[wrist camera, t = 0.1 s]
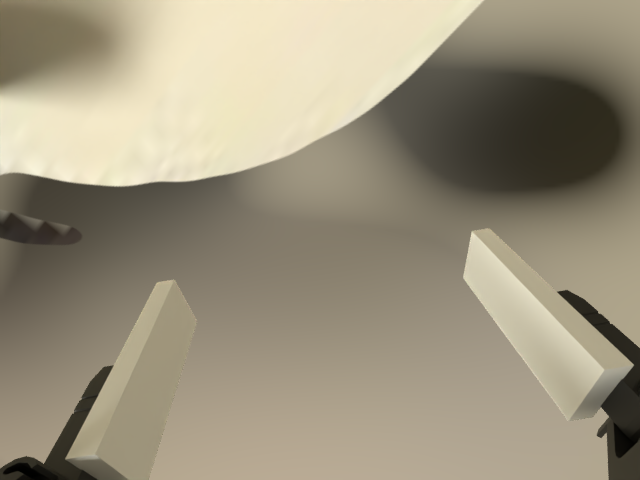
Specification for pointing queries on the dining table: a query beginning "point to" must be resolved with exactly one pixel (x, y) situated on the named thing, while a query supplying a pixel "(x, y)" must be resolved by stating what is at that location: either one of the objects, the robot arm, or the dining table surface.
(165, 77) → the dining table surface
